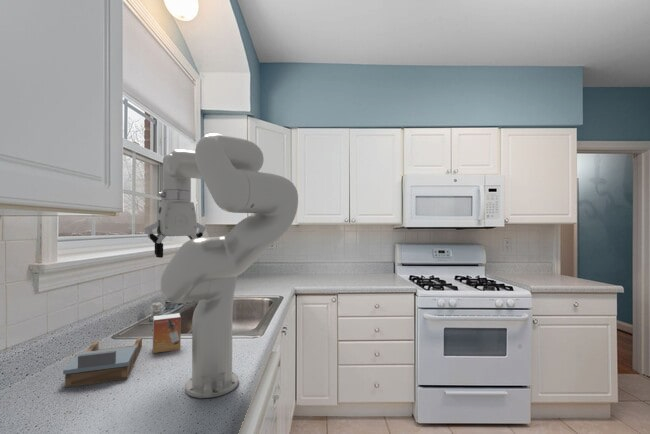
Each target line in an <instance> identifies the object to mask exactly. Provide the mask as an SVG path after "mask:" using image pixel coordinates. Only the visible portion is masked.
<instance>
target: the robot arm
mask: <svg viewBox="0 0 650 434" xmlns="http://www.w3.org/2000/svg"><path fill="white" fill-rule="evenodd" d="M263 165H264V153H263V152H262V149H261V148H260V147H259V146H258V145H257V144H256V143H255V142H253V141H250V140H248V139H244V138H240V137H235V136H230V135H225V134H220V133H208V134H205V135H204V136H202V137H201V138H200V139H199V141H198V142H197V144H196V147H195V149H194V150H188V149H180V148H179V149H177V148H175V149H174V150H172V151H171V152H170V153H168V154H165V155H164V156H163V158H162V190H161V192H159V191H158V193H157V197H158V198H160V199H161V200H162V201H160V202H159V206H158V211H157V221H156V222H153V223H151V224H149V225H148V226H145V227H144V231H145V233H146V235H147V237H148V239H150V240H151V241H152V243H153V244H154V255H155V256H156V258H158V259H159V258H160V259H162V258H163V257H164V243H163V241H164V239H166V237H187V238H189V240H187V241H185V242H184V243H183V244H182V245H181V246H180V248H179V249H178V250H177V252H176V253H175V254H174V255H173V257H172V258H171V259H170V261H169V263H167V265H166V267H165V268H164V270H163V271H162V272H163V273H162V274H161V278H160V292H161V294H162V296H163V297H164V299H165V300H166V301H167V302H170V303H171V304H184V303H185V304H186V303H189V302H195V301H198V303H197V304H196V307H195V309H194V310H193V315H192V321H191V322H192V323H191V324H192V327H191V329H192V331H191V332H192V335H191V343H192V345H191V353H192V354H191V368H192V369H191V378H189V379H188V380H187V381H186V383H185V386H184V387H185V389H184V390H185V392H186V394H187V395H189V396H191V397H193V398H198V399H211V398H215V397H220V396H224V395H226V394H228V393H230V392H232V391H233V390H235V388H236V387H238V385H239V376H238V374H237V373H235V372H234V371H233V319H234V318H233V314H234V313H233V308H234V296H235V291H236V286H237V282H238V281H237V280H238V279H237V277H238V276H240V275H241V274H244V272H245V271H246V270H247V269H249V268H250V267H251V266H252V265H253V264H254V263H255V262H256V261H257V260H258V259H259V258H260V256H262V255H263V254H264V253H265V252H266V251H267V250H268V249H269V248H270V247H271V246H273V244H276V242H278V240H279V239H281V238H282V237H283V235H285V233H286V232H288V230H289V229H290V228H291V226H292V223H294V220H295V219H296V215H297V212H298V207H299V194H298V190H297V187H296V185H295V184H294V183H293V182H292V181H291V180H290V179H288V178H286V177H285V176H281V175H279V174H274V173H269V172H261V171H260V170H261V169H262V167H263ZM192 179H197V180H198V179H199V180H203V182H204V183H205V185H206V187H207V189H208V191H209V193H210V194H211V195H210V196H211V197H212V199H213V201H214V202H215V205H217V206H218V208H220V209H221V210H223V211H225V212H228V213H232V214H251V215H248V216H247V217H245V218H242V220H240V221H239V222H238V223H236V225H234V227H233V228H232V229H231V230H230V232H229V233H227V234H225V235H221V236H208V237H207V236H205V237H204V236H203V234H204V232H205V231H206V227H205V226H204V225H203V224H201V223H198V222H197V212H196V206H195V202H192V201H191V199H192V196H191V195H192V192H191V191H192ZM155 229H156V233H157V235H155V234H154V232H153V230H155Z"/></svg>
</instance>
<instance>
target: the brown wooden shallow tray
mask: <svg viewBox="0 0 650 434" xmlns="http://www.w3.org/2000/svg"><path fill="white" fill-rule="evenodd" d="M133 346H136V351H135V353H134V355H133V357H132V359H131V361H130V363H129V365H128V366H124V367H117V368H109V369H101V370H94V371H86V372H78V373H71V374H64V380H65V381H64V388H72V387H78V386H85V385H92V384H93V385H94V384H99V383H107V382H116V381H121V380H127V379H128V378H129V375H130V374H131V371H132V369H133V367H134V365H135V362H136V360H137V358H138V356H139V354H140V352H141V349H142V348H143V336H140V337H137V339H136V340H135V341H134V344H133V345H129V346H128V345H127V346H120V347H119V346H117V347H110V348H109V347H108V348H102V349H100V348H99V341H93V342H92V344H91V345H90V346H89V347H88V349H87V350H85V352H89V351H98V350H107V349H116V348H124V347H133Z"/></svg>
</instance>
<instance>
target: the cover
mask: <svg viewBox="0 0 650 434" xmlns="http://www.w3.org/2000/svg"><path fill="white" fill-rule="evenodd" d="M132 346H133V347H126V346H123V347H124V348H117V347H115V348H116V349H108V348H106V349H107V350H99V349H98V351H89V352H86V351H82V352H79V353H78V354H77V355H76V356H75V357H74V358H73V359H72V360H71V362H70V363H69V364H68V365H67V366H66V367H65V368H63V371H62V374H63V375H66V374H71V373H78V372H86V371H94V370H101V369H109V368H117V367H124V366H128V365H129V363H130V361H131V359H132V357H133V355H134V353H135V351H136V346H134V345H132Z"/></svg>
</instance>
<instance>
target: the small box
mask: <svg viewBox="0 0 650 434" xmlns="http://www.w3.org/2000/svg"><path fill="white" fill-rule="evenodd" d="M181 324H182V318H181V313H180V312H175V313H168V314H162V315H153V319H152V354H157V353H163V352H164V353H165V352H171V351H172V352H173V351H179V350H181V342H182V341H181V334H182V333H181V332H182V331H181V330H182V329H181V328H182V326H181Z"/></svg>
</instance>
